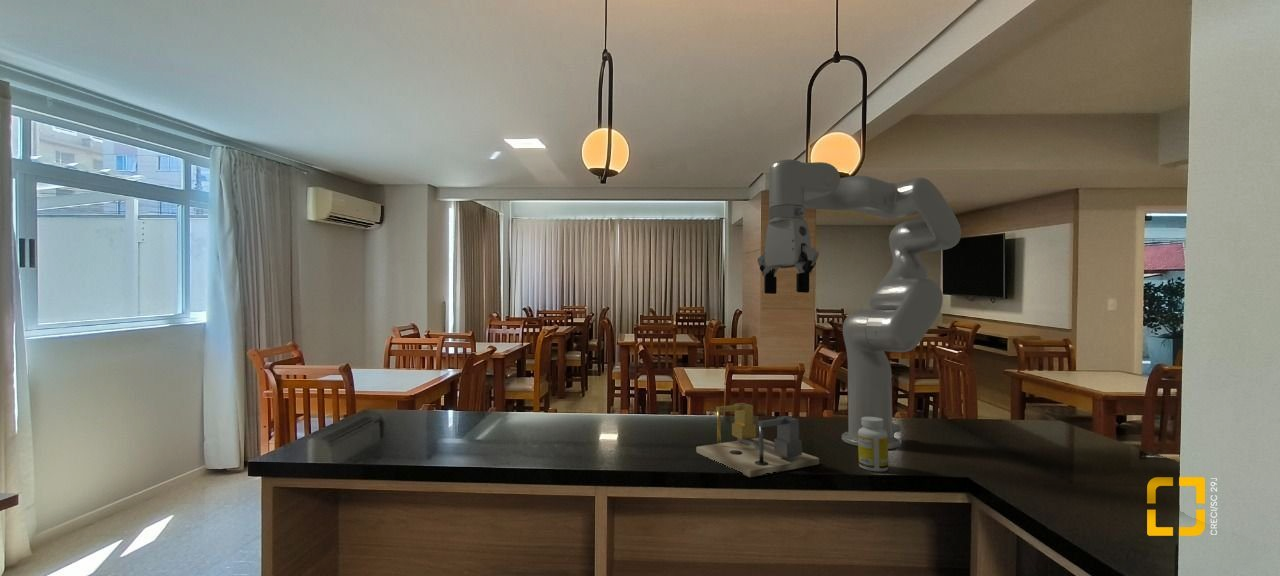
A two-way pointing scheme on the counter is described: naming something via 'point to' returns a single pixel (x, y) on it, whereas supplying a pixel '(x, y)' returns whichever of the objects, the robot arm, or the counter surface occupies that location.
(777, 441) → the fixed leg
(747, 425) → the slider leg
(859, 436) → the supplement bottle
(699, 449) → the board
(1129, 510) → the counter surface
